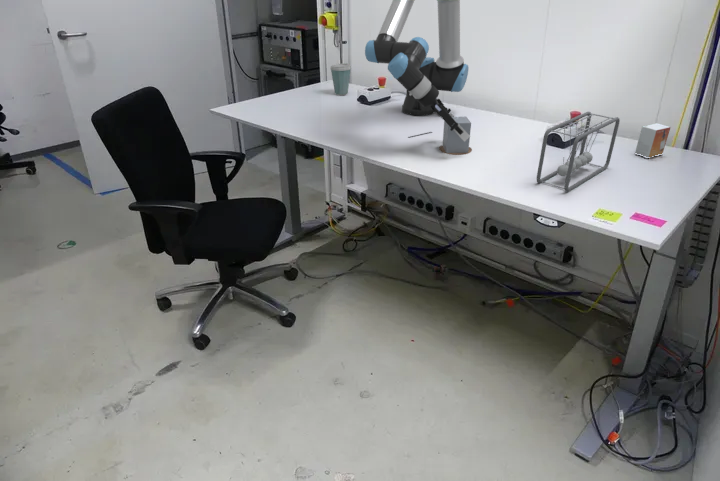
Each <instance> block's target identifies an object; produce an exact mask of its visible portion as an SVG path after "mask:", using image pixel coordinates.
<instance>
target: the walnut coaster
mask: <svg viewBox="0 0 720 481" xmlns="http://www.w3.org/2000/svg"><path fill="white" fill-rule="evenodd" d="M438 149H439V152H441V153H443V154H446V155H452V156H462V155H468V154H470V153H472V151H473V149H472V147H470V146H469V150H468V153H446V151H445V150H444V148H443V146H442V145H440V146H439V147H438Z"/></svg>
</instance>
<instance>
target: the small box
mask: <svg viewBox="0 0 720 481" xmlns="http://www.w3.org/2000/svg"><path fill="white" fill-rule="evenodd" d="M671 128H672V127H671V126H668V125H665V124H661V123H658V122H655V123H653V124H649V125H643V126H641V128H640V129H641V130H640V133H639V137H638V141H637V144H636V148H635V151H634V154H635V153H637V154H641V155H643V156H646V157H652V156H655V155H658V154H662V153H664V150H665V147H666V143H667V142H668V137H669V135H670V132H671V131H670V130H671ZM662 155H663V154H662Z"/></svg>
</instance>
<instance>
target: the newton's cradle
mask: <svg viewBox="0 0 720 481" xmlns="http://www.w3.org/2000/svg"><path fill="white" fill-rule="evenodd" d="M594 116H596V117H601V118H606V119H603V120H599V119H598V122H597V123H596V122H594V124H593V122H591V120H592V117H594ZM585 119H586V120H585ZM593 120H595V121H597V119H595V118H593ZM584 121H585V122H586V123H585V124H583V123H581V126H583V125H584V126H585V127H581V131H578V130H577V128H579V129H580V126H577V124H579V125H580V123H579V122H584ZM620 121H621V119H620V118H619V117H618V116H617V117H616V116H615V117H611V116H606V115H603V114H602V115H600V114H597V113H591V111H586V112H584V113H582V114H579V115H576V116H574V117H573V118H570V119H568V120H565V121H564V122H561V123H559V124H557V125H556V124H555V125H554V126H552V127H550V128H548V129H546V131H544V132H545V133H544V135H543V138H542V145H541V149H540V156H539V161H538V168H537V173H536V183H537V184H545V185H550V186H553V187H554V188H555V187H556V188H558V189H562V190H564V192H565V193H569V192H570V191H572V190H574V189H576V188H577V187H579V186H580V185H582V184H584V183H585V182H587V181H588V180H591V179H592V178H593V177H595V176H596V175H598V174H600V173H602V172H603V171H605V170H606V169H607V168H608V167H609V165H610V162H611V158H612V153H613V150H614V146H615V142H616V137H617V134H618V130H619V127H620ZM591 123H592V125H590V124H591ZM613 123H615V124H614V128H613V132H612V136H611V140H610V144H609V149H608V153H607V157H606V161H605V164H604V165H603V166H602V165H597V164H593V163H591V162H592V161H593V154H592V153H591V152H590V151H591V149H592V146H593V145H594V142H595V140H596V137H597V136H598V133H599V131H600V130H601V129H604V128H606V127H607V126H609V125H611V124H613ZM568 127H569V128H568ZM572 127H574V128H575V130H576V133H574V134H572V133H571V131H573V132H575V130H573V129H571V128H572ZM566 129H567V130H569V133H566V131H565V130H566ZM561 130H563V131H562V132H561ZM551 132H552V133H556V134H560V135H563V140H565V138H566V136H568V137H569V145H571V144H572V149H571V150H570V152H569V155H568V158H567V161H566V162H565V158H563V159H562V160H563V163H562V164H561V165H559V166H558V167H557V168H556V170H555V171H552V172H551V173H549V174H548V175H546V176H544V177H541V176H542V170H543V165H544V159H545V154H546V148H547V143H548V138H549V134H550V133H551ZM594 133H596V135H595V136H594V139H593V141H592V143H591V146H590V148H589V151H588V146H589V144H590V142H591V140H592V138H593V135H594ZM565 135H566V136H565ZM590 135H591V136H590ZM588 136H590V138H589V141H588V142H587V140H588ZM571 138H575V139H574V141H573V143H571V140H572V139H571ZM578 143H579V144H578ZM579 146H580V151H579V154H578V155H577V152H578V149H579ZM585 147H586V148H585ZM586 164H587V165H590V166H593V167H596V168H597V167H598V169H597V170H595V171H594V172H592V173H590V174H589V175H587V176H585V177H583V178H582V179H580V180H578V181H577V182H576V183H573V184H572V185H570V180H571V175H572V173H574V172H575V171H576V170H579V169H580V168H581V167H584V166H585V165H586ZM601 171H602V172H601ZM556 175H558V176H560V177H565V183H564V187H562V186H559V185H556V184H553V183H550V182H546V181H547V180H549V179H551V178H552V177H554V176H556Z"/></svg>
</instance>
